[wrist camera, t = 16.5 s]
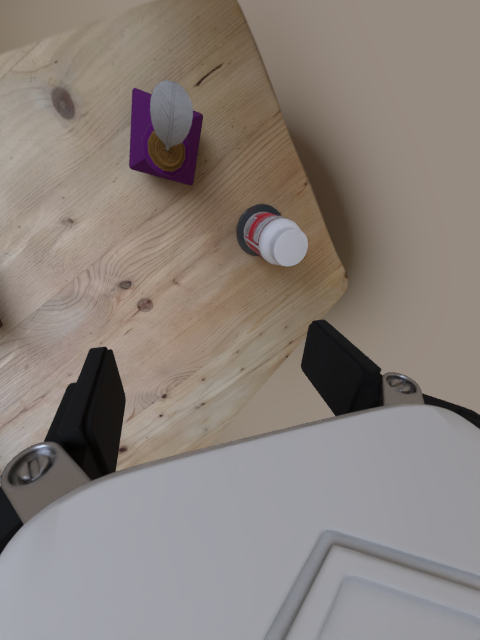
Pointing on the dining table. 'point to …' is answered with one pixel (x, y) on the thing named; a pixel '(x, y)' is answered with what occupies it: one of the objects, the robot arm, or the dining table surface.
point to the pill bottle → (275, 239)
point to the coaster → (243, 221)
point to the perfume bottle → (165, 133)
